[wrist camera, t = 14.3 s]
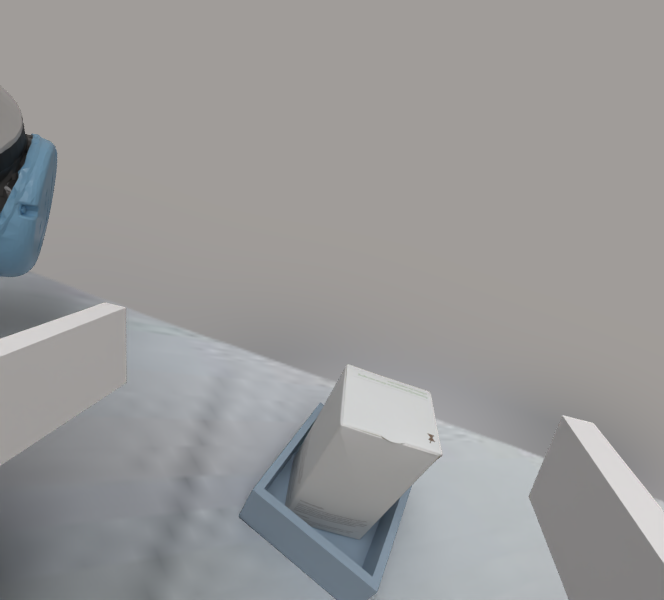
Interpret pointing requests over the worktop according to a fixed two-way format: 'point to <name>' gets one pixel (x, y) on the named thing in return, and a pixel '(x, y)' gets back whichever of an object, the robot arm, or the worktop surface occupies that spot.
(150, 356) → the worktop surface
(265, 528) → the crate
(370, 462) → the skincare box
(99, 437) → the worktop surface
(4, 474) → the worktop surface
